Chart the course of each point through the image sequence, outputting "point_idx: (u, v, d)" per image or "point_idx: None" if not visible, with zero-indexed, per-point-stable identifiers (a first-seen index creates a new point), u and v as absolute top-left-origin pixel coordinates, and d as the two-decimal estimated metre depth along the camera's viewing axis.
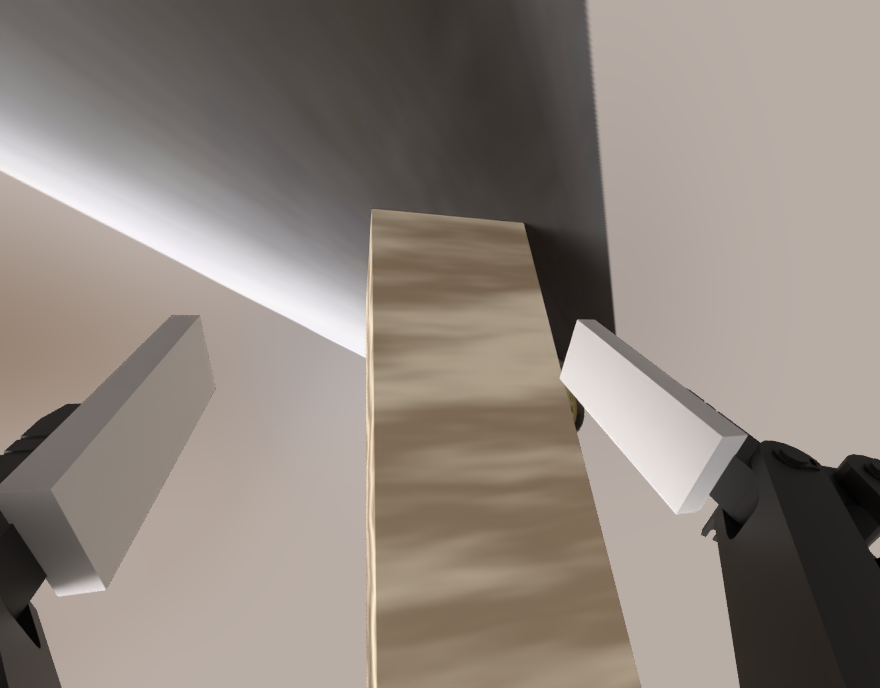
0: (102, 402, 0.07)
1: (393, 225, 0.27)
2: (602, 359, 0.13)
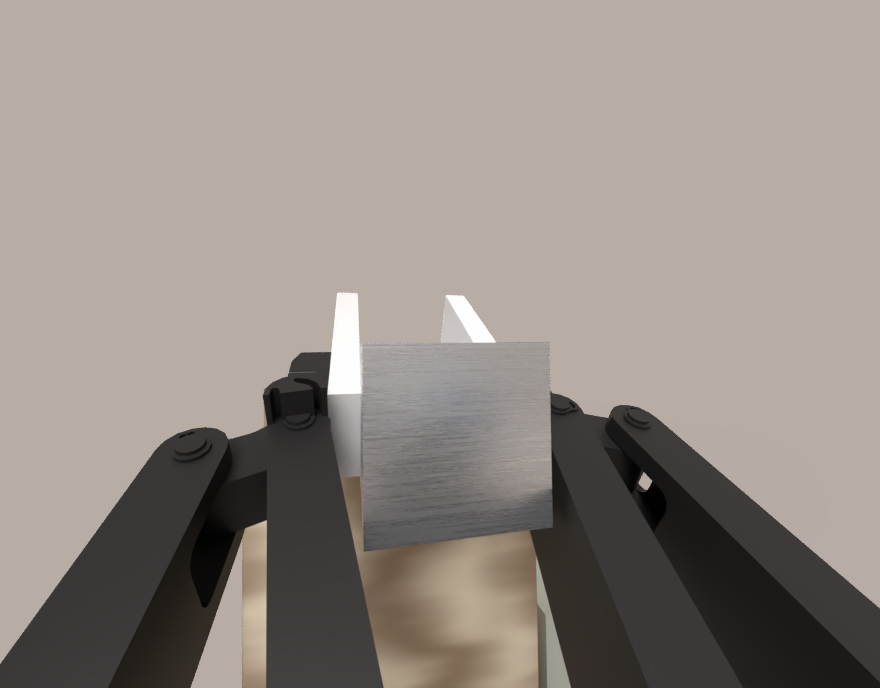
0: (344, 347, 0.10)
1: None
2: (455, 331, 0.14)
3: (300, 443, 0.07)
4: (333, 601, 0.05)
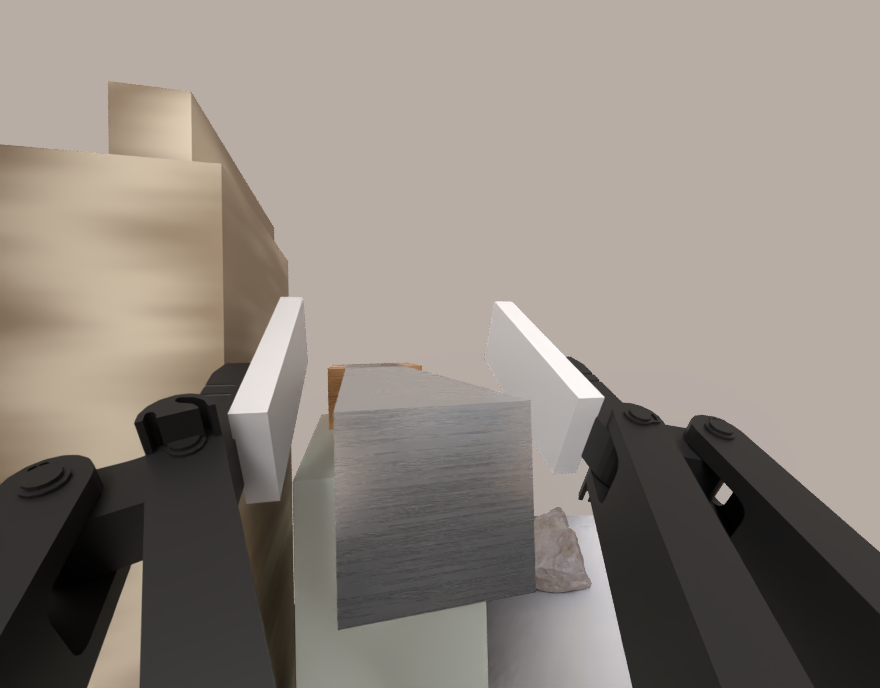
0: (267, 358, 0.10)
1: None
2: (509, 337, 0.14)
3: (187, 471, 0.06)
4: (225, 645, 0.04)
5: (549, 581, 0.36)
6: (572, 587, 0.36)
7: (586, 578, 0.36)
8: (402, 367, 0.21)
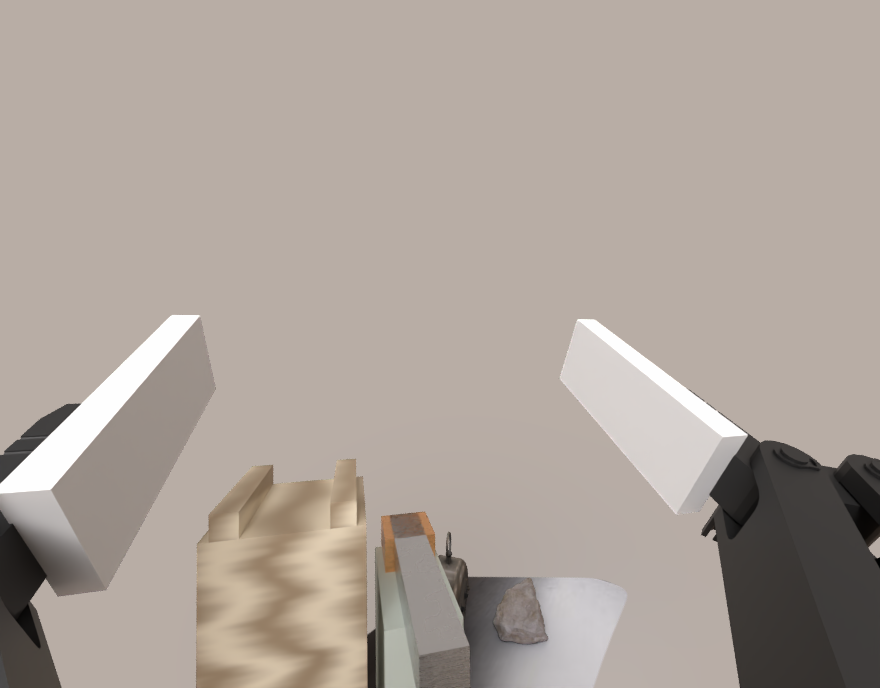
0: (102, 402, 0.07)
1: None
2: (602, 359, 0.13)
3: None
4: None
5: (520, 636, 0.55)
6: (535, 641, 0.54)
7: (544, 635, 0.55)
8: (425, 541, 0.40)
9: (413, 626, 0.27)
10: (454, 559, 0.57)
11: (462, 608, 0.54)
